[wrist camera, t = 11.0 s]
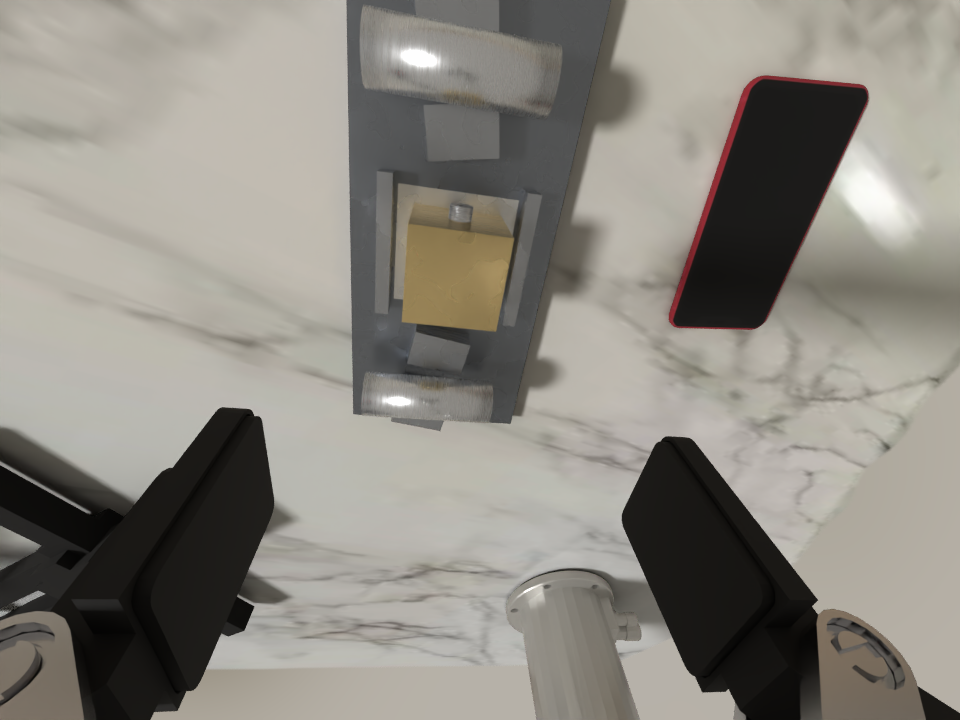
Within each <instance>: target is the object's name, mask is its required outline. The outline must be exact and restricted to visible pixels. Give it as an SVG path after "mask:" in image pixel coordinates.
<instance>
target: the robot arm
mask: <svg viewBox="0 0 960 720" xmlns="http://www.w3.org/2000/svg"><path fill="white" fill-rule="evenodd" d="M273 508H274V495H273V489H272V482H271V476H270V470H269V463H268V457H267V450H266V444H265V437H264V431H263V424H262V419H261V418H260V417H259V416H254V414H253V412H252V410H250V409H240V408H225V407H222V408H219V409H218V410H217V411H216V412H215V414H214V415H213V416H212V418H211V419H210V420H209V421H208V423H207V424H206V425H205V427H204V428H203V429H202V430H201V432H200V433H199V434H198V436H197V437H196V438H195V440H194V441H193V442H192V443H191V445H190V446H189V447H188V449H187V450H186V451H185V453H184V454H183V455H182V456H181V458H180V459H179V460H178V462H177V463H176V464H175V465H174V467H173V468H168V469H166V470H164V471H162V472H161V473H160V474H159V475H158V476H157V477H156V478H155V480H154V481H153V482H152V483H151V485H150V486H149V487H148V488H147V490H146V491H145V492H144V493H143V495H142V496H141V497H140V499H139V500H138V501H137V502H136V504H135V505H134V506H133V507H132V509H131V510H130V511H129V512H128V514H127V515H126V516H125V517H124V519H123V520H122V521H121V522H120V524H119V525H118V526H117V527H116V529H115V530H114V531H113V532H112V534H111V535H110V536H109V537H108V539H107V540H106V541H105V542H104V544H103V545H102V546H101V547H100V549H99V550H98V551H97V552H96V554H95V555H94V556H93V557H92V559H91V560H90V561H89V563H88V564H87V565H86V566H85V568H84V569H83V570H82V571H81V573H80V574H79V575H78V576H77V578H76V579H75V580H74V581H73V583H72V584H71V585H70V586H69V588H68V589H67V590H66V591H65V593H64V594H63V595H62V596H61V598H60V599H59V600H58V601H57V603H56V604H55V605H54V606H53V608H52V609H51V610H50V611H49V612H43V611H34V612H29V613H23V614H18V615H14V616H12V617H9V618H6V619H4V620H1V621H0V720H150V719H151V717H152V715H153V713H154V712H163V711H177V710H178V708H179V706H180V704H181V701H182V699H183V697H184V695H185V693H186V691H192V690H194V689H195V688H196V687H197V686H198V684H199V683H200V681H201V679H202V677H203V674H204V672H205V670H206V667H207V665H208V663H209V660H210V658H211V656H212V653H213V651H214V649H215V646H216V644H217V642H218V639H219V637H220V635H221V632H222V630H223V628H224V625H225V623H226V621H227V618H228V616H229V614H230V611H231V609H232V607H233V605H234V602H235V600H236V598H237V595H238V593H239V591H240V588H241V586H242V584H243V581H244V579H245V577H246V574H247V572H248V570H249V567H250V565H251V563H252V560H253V558H254V556H255V553H256V551H257V549H258V546H259V544H260V542H261V539H262V537H263V535H264V532H265V530H266V528H267V525H268V523H269V521H270V518H271V516H272V513H273ZM622 524H623V527H624V530H625V532H626V534H627V536H628V539H629V541H630V543H631V545H632V548H633V550H634V552H635V554H636V557H637V559H638V561H639V563H640V566H641V568H642V570H643V572H644V575H645V577H646V579H647V581H648V584H649V586H650V588H651V590H652V593H653V595H654V597H655V599H656V602H657V604H658V606H659V608H660V611H661V613H662V615H663V617H664V620H665V622H666V624H667V627H668V629H669V631H670V633H671V636H672V638H673V640H674V642H675V644H676V646H677V649H678V651H679V653H680V656H681V658H682V660H683V662H684V665H685V667H686V668H687V670H688V671H689V673H690V674H692V675H693V676H695V677H696V680H697V682H698V684H699V686H700V688H701V691H702V692H726V691H727V690H728V689H729V691H730V692H731V695H732V697H733V699H734V700H735V710H734V720H960V713H959V712H957V711H956V710H954V709H952V708H951V707H949V706H948V705H946V704H945V703H943V702H941V701H940V700H938V699H937V698H935V697H934V696H932V695H930V694H929V693H927V692H926V691H924V690H923V689H921V688H920V687H918V686H917V683H916V680H915V678H914V675H913V672H912V670H911V668H910V666H909V665H908V664H907V662H906V661H905V659H904V658H903V656H902V655H901V653H900V652H899V651H898V650H897V649H896V648H895V647H894V646H893V645H892V643H891V642H890V641H889V640H888V639H886V638H885V637H884V636H883V635H882V634H881V633H879V632H878V631H877V630H876V629H875V628H873V627H872V626H870V625H869V624H867V623H865V622H864V621H863V620H861V619H859V618H858V617H855V616H853V615H851V614H849V613H847V612H844V611H840V610H835V609H830V610H823V611H822V612H821V613H820V614H819V615H818V614H817V613H816V611H815V610H814V609H813V607H812V606H813V605H814V604H815V603H816V602H817V601H818V599H817V598H816V597H815V596H814V595H813V593H812V592H811V591H810V589H809V588H808V587H807V585H806V584H805V583H804V582H803V580H802V579H801V578H800V576H799V575H798V574H797V573H796V571H795V570H794V569H793V567H792V566H791V565H790V564H789V562H788V561H787V560H786V559H785V557H784V556H783V555H782V553H781V552H780V551H779V550H778V548H777V547H776V546H775V544H774V543H773V542H772V541H771V539H770V538H769V537H768V535H767V534H766V533H765V532H764V530H763V529H762V528H761V526H760V525H759V524H758V523H757V521H756V520H755V519H754V518H753V516H752V515H751V514H750V512H749V511H748V510H747V509H746V507H745V506H744V505H743V503H742V502H741V501H740V500H739V498H738V497H737V496H736V494H735V493H734V492H733V491H732V489H731V488H730V487H729V486H728V484H727V483H726V482H725V480H724V479H723V478H722V477H721V475H720V474H719V473H718V471H717V470H716V469H715V468H714V466H713V465H712V464H711V462H710V461H709V460H708V459H707V457H706V456H705V455H704V453H703V452H702V451H701V450H700V448H699V447H698V446H697V445H696V443H695V442H694V441H693V440H692V439H690V438H685V437H670V436H668V437H664V438H663V439H662V440H661V442H658V443H656V445H655V446H654V448H653V450H652V452H651V455H650V457H649V459H648V461H647V463H646V465H645V467H644V469H643V471H642V473H641V475H640V477H639V479H638V481H637V483H636V485H635V487H634V490H633V492H632V494H631V496H630V498H629V500H628V502H627V504H626V506H625V508H624V510H623V513H622ZM613 603H614V596H613V593H612V590H611V587H610V586H609V584H608V583H607V582H606V581H605V580H604V579H603V578H601V577H599V576H597V575H595V574H592V573H589V572H584V571H558V572H553V573H548V574H544V575H541V576H538V577H536V578H533V579H531V580H529V581H527V582H525V583H524V584H522V585H521V586H519V587H518V588H517V589H516V590H515V591H514V592H513V593H512V594H511V596H510V597H509V598H508V601H507V603H506V614H507V620H508V622H509V624H510V625H511V626H512V627H513V628H514V629H516V630H517V631H519V632H521V633H523V637H524V644H525V650H526V656H527V663H528V669H529V675H530V682H531V688H532V694H533V701H534V706H535V713H536V719H537V720H640V718H639V715H638V712H637V709H636V706H635V703H634V700H633V697H632V694H631V691H630V688H629V685H628V682H627V679H626V676H625V673H624V670H623V667H622V664H621V661H620V658H619V654H618V651H617V648H616V645H615V643H616V640H625V641H639V640H640V639H641V629H640V626H639V624H638V619H637V616H636V614H635V613H634V612H623V613H616V611H614V610H613V609H612V606H613Z"/></svg>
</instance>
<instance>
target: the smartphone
mask: <svg viewBox="0 0 960 720" xmlns="http://www.w3.org/2000/svg"><path fill="white" fill-rule="evenodd" d="M867 102H868V91H867V88H866V87H865V86H863V85H860V84H851V83H841V82H830V81H820V80H809V79H799V78H788V77H778V76H760V77H757V78H755V79H753V80H752V81H751V82H750V83H749V84H748V85H747V86H746V87H745V89H744V91H743V93H742V95H741V98H740V101H739V104H738V107H737V110H736V113H735V116H734V119H733V122H732V125H731V128H730V131H729V134H728V137H727V140H726V143H725V146H724V149H723V153H722V156H721V159H720V162H719V165H718V168H717V171H716V174H715V177H714V180H713V183H712V186H711V189H710V192H709V195H708V198H707V201H706V204H705V207H704V210H703V213H702V216H701V219H700V222H699V225H698V228H697V231H696V234H695V237H694V240H693V243H692V246H691V249H690V252H689V255H688V258H687V261H686V264H685V267H684V270H683V273H682V276H681V279H680V282H679V285H678V288H677V291H676V294H675V297H674V300H673V303H672V306H671V309H670V313H669V322H670V323H671V324H672V325H673V326H674V327H677V328H704V329H745V330H751V329H756V328H758V327H759V326H761V325H762V324H763V323H764V322H765V321H766V319H767V317H768V315H769V313H770V311H771V309H772V306H773V304H774V302H775V300H776V298H777V296H778V294H779V291H780V289H781V287H782V285H783V283H784V281H785V279H786V276H787V274H788V272H789V270H790V268H791V266H792V264H793V261H794V259H795V257H796V255H797V253H798V251H799V249H800V246H801V244H802V242H803V240H804V238H805V236H806V234H807V231H808V229H809V227H810V225H811V223H812V221H813V219H814V216H815V214H816V212H817V210H818V208H819V206H820V204H821V201H822V199H823V197H824V195H825V193H826V191H827V189H828V186H829V184H830V182H831V180H832V178H833V176H834V173H835V171H836V169H837V167H838V165H839V163H840V161H841V158H842V156H843V154H844V152H845V150H846V148H847V146H848V143H849V141H850V139H851V137H852V135H853V133H854V131H855V128H856V126H857V124H858V122H859V120H860V118H861V116H862V113H863V111H864V109H865V107H866V105H867Z"/></svg>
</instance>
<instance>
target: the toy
mask: <svg viewBox="0 0 960 720" xmlns="http://www.w3.org/2000/svg"><path fill="white" fill-rule="evenodd" d="M123 519H124V517H123V516H121V515H119V514H118V513H116V512H114V511H112V510H111V509H109V508H108V509H107V510H105V511H103V512H101V513H99V514H97V515H96V516H94V517H92V516H91V515H89V514H87V513H85V512H83V511H82V510H80V509H78V508H76V507H74V506H73V505H71V504H69V503H67V502H65V501H64V500H62V499H60V498H58V497H56V496H55V495H53V494H51V493H49V492H47V491H46V490H44V489H42V488H40V487H38V486H37V485H35V484H33V483H31V482H29V481H27V480H26V479H24V478H22V477H20V476H18V475H17V474H15V473H13V472H11V471H9V470H8V469H6V468H4V467H2V466H0V525H1V526H3V527H5V528H7V529H9V530H11V531H13V532H15V533H17V534H19V535H21V536H23V537H25V538H27V539H29V540H31V541H34V542H36V543H38V544H40V545H42V546H41V547H40V548H39V549H38V550H37V552H35V553H33V554H32V555H30V556H28V557H26V558H24V559H22V560H20V561H18V562H16V563H14V564H12V565H10V566H8V567H6V568H4V569H2V570H0V608H2V607H4V606H6V605H8V604H10V603H12V602H14V601H16V600H18V599H21V598H23V597H25V596H27V595H29V594H31V593H33V592H35V591H37V590H38V591H41V592H43V593H45V595H43V596H41V597H39V598H36V599H34V600H32V601H30V602H28V603H26V604H24V605H23V606H21V607H19V608H17V609H15V610H13V611H11V612H9V613H8V614H6V615H4V616H2V617H0V621H1V620H4V619H6V618H9V617H12V616H14V615H18V614H23V613H29V612H34V611H43V612H49V611H50V610H51V609H52V608H53V606H54V605H55V604H56V603H57V601H58V600H59V599H60V598H61V596H62V595H63V594H64V593H65V591H66V590H67V589H68V588H69V586H70V585H71V584H72V583H73V581H74V580H75V579H76V578H77V576H78V575H79V574H80V573H81V571H82V570H83V569H84V568H85V566H86V565H87V564H88V563H89V561H90V560H91V559H92V557H93V556H94V555H95V554H96V552H97V551H98V550H99V549H100V547H101V546H102V545H103V544H104V542H105V541H106V540H107V539H108V537H109V536H110V535H111V534H112V532H113V531H114V530H115V529H116V527H117V526H118V525H119V524H120V522H121V521H122V520H123ZM253 609H254V606H253V605H251V604H249V603H247V602H245V601H244V600H242V599H240V598H238V597H237V598H236V600H235V602H234V605H233V607H232V609H231V611H230V614H229V616H228V618H227V621H226V623H225V625H224V628H223V630H222V632H221V633H222V634H224V635H226V636H231V635H234V634H236V633H239V632H242V631H244V630H245V628H246V625H247V623H248V621H249V618H250V616H251V613H252V611H253Z"/></svg>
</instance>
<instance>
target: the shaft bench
mask: <svg viewBox="0 0 960 720" xmlns="http://www.w3.org/2000/svg"><path fill="white" fill-rule="evenodd" d="M610 2H611V0H347V55H348V116H349V176H350V237H351V298H352V358H353V414H359V415H362V416H377V417H392V419H391V421H392V422H397V423H402V424H407V425H413V426H418V427H423V428H428V429H433V430H438V431H440V430H441V427H442V424H443V422H444V421H460V422H476V423H489V422H491V423H507V424H511V420H512V415H513V411H514V407H515V403H516V399H517V394H518V390H519V386H520V382H521V377H522V373H523V369H524V365H525V361H526V356H527V352H528V348H529V344H530V340H531V335H532V331H533V327H534V323H535V318H536V314H537V310H538V306H539V302H540V297H541V293H542V289H543V285H544V280H545V276H546V272H547V268H548V264H549V259H550V255H551V251H552V247H553V243H554V238H555V234H556V230H557V226H558V221H559V217H560V213H561V209H562V205H563V200H564V196H565V192H566V188H567V183H568V179H569V175H570V171H571V167H572V162H573V158H574V154H575V150H576V146H577V141H578V137H579V133H580V129H581V124H582V120H583V116H584V112H585V108H586V103H587V99H588V95H589V91H590V86H591V82H592V78H593V74H594V70H595V65H596V61H597V57H598V53H599V48H600V44H601V40H602V36H603V32H604V27H605V23H606V19H607V15H608V11H609V6H610ZM414 203H416V204H422V205H429V206H436V207H443V208H450V203H464V204H468V205H471V206H473V212H477V213H484V214H491V215H498V216H501V217H502V218H503V220H504V222H505V224H506V225H507V227H508V229H509V230H510V232H511V234H512V235H513V237H514V243H513V248H512V253H511V258H510V263H509V268H508V273H507V278H506V284H505V289H504V294H503V299H502V304H501V309H500V314H499V319H498V324H497V330H496V332H494V331H484V330H474V329H465V328H455V327H445V326H435V325H425V324H416V323H406V322H402V310H403V294H404V278H405V262H406V246H407V230H408V222H409V218H410V215H411V212H412V209H413V205H414Z"/></svg>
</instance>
